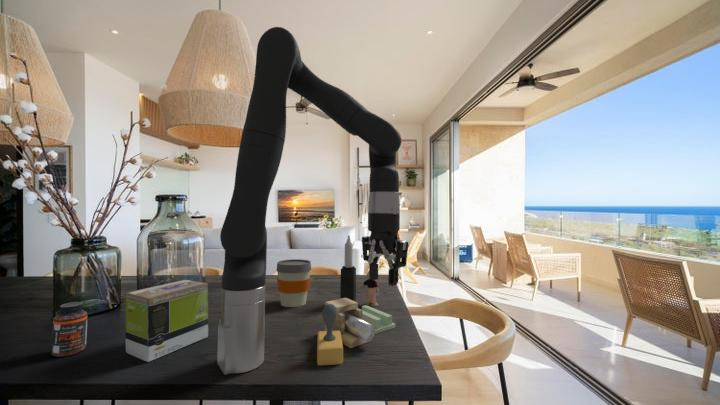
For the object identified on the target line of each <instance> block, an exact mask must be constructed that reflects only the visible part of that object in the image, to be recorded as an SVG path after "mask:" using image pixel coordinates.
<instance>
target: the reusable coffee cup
mask: <svg viewBox="0 0 720 405" xmlns="http://www.w3.org/2000/svg"><path fill="white" fill-rule="evenodd" d="M311 271H312V264H311V260H307V259H302V258H301V259H293V258H292V259H285V260H280V261H278V262H277V264H276V272H277V277H276V281H277V283H276V284H277V290H278V293H279V299H280V306H282V307H284V308H297V307H302V306H304V305H306V303H307V299H308V298H307V297H308V291H309V289H310V284H311V276H310V275H311Z"/></svg>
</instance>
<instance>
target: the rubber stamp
mask: <svg viewBox="0 0 720 405" xmlns="http://www.w3.org/2000/svg"><path fill="white" fill-rule="evenodd" d="M336 316H337V309H336V307H335V306H334V305H333V304H327V305H326V306H324V307H323V309H322V318H323V321H324V325H325V324H326V328H327V331H325V330H321V331H318V332H317V346H316V363H317V364H316V365H317V366H330V365H331V366H332V365H343V363H344V346H343V345H344V344H343V343H342V338H341V332H340V331H332V328H333V325H334V322H335V320H336Z"/></svg>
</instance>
